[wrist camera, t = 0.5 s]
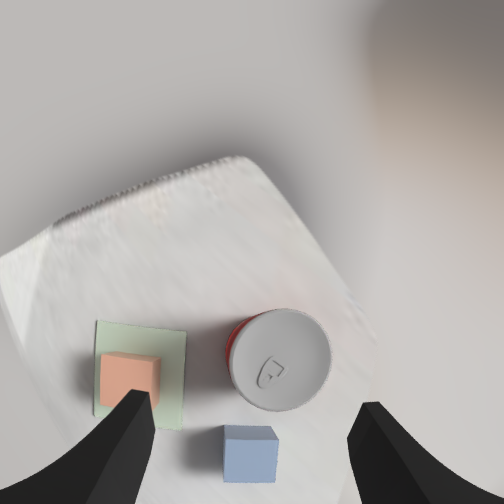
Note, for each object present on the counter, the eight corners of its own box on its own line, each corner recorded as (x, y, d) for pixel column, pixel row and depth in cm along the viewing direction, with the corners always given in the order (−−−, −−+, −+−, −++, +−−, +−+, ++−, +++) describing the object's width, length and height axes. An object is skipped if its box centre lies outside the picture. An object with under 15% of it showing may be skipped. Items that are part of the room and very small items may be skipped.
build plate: (182, 429, 30) (181, 430, 29) (95, 415, 29) (94, 416, 28) (186, 331, 32) (186, 331, 32) (98, 320, 31) (97, 320, 31)
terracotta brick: (159, 402, 30) (150, 413, 25) (114, 395, 29) (100, 404, 25) (161, 357, 31) (152, 362, 26) (116, 351, 30) (101, 354, 26)
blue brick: (267, 464, 30) (274, 482, 25) (222, 463, 29) (223, 482, 24) (270, 425, 31) (278, 439, 26) (224, 424, 30) (225, 439, 26)
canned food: (213, 372, 31) (212, 392, 21) (242, 303, 34) (254, 291, 23) (280, 396, 32) (309, 425, 21) (307, 329, 34) (347, 328, 23)
